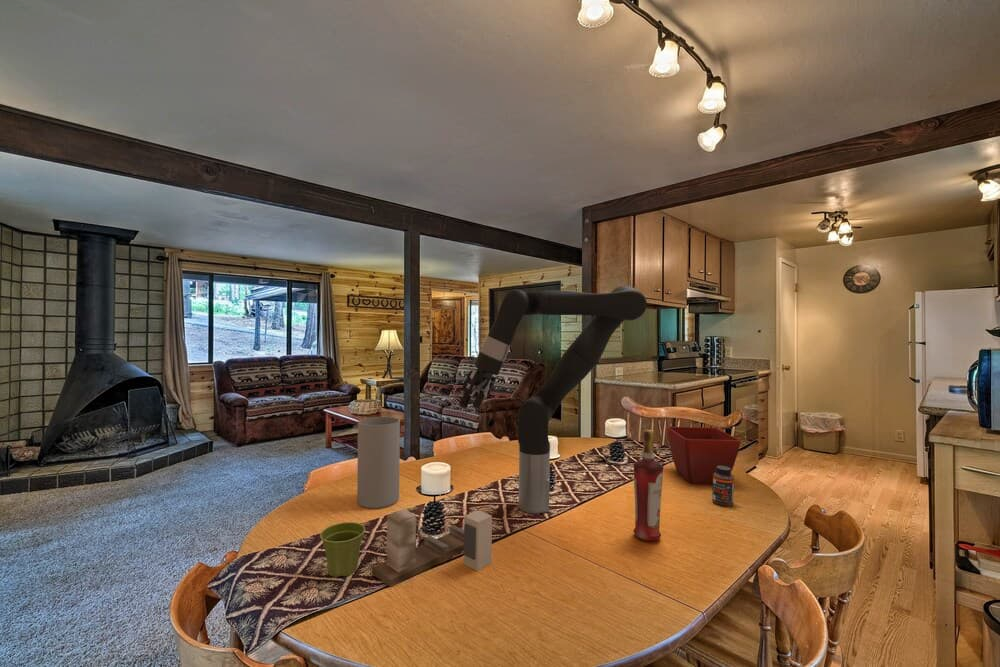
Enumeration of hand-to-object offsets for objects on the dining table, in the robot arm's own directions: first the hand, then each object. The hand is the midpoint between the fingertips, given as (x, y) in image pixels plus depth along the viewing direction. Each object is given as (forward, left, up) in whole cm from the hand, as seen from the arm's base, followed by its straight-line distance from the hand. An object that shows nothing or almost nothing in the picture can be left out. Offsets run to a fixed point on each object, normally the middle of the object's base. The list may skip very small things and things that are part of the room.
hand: (469, 407), depth 125 cm
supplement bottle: (-77, -21, -32) cm, 86 cm away
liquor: (-48, +6, -32) cm, 58 cm away
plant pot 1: (+23, +31, -32) cm, 50 cm away
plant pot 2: (-78, -44, -32) cm, 96 cm away
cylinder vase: (+30, -7, -32) cm, 44 cm away
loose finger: (-7, +24, -32) cm, 40 cm away
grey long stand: (+6, +24, -31) cm, 40 cm away
